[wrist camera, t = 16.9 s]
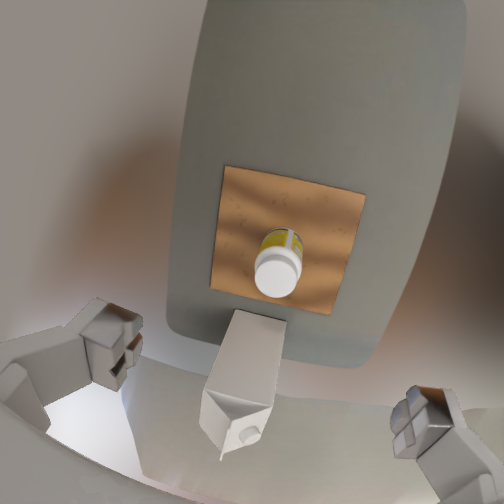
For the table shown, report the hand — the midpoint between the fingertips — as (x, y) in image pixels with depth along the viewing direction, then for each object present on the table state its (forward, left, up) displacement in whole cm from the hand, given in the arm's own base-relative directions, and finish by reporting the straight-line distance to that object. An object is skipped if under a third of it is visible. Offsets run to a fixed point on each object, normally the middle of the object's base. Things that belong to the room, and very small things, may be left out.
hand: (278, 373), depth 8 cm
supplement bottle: (+5, -6, -28) cm, 29 cm away
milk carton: (+15, -16, -29) cm, 36 cm away
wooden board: (+5, -6, -28) cm, 29 cm away
